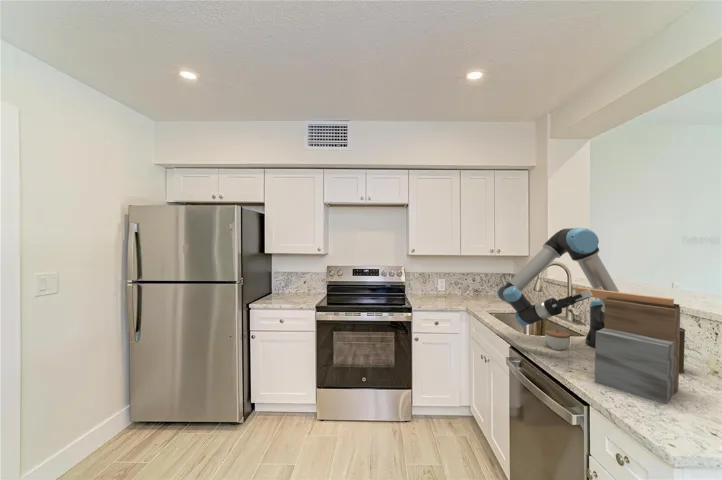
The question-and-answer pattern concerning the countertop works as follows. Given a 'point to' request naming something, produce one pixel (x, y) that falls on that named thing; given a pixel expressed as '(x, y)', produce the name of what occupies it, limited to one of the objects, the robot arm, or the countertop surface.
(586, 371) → the countertop surface
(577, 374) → the countertop surface
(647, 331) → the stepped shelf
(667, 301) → the terracotta bar
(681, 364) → the canister
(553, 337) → the lidded jar
